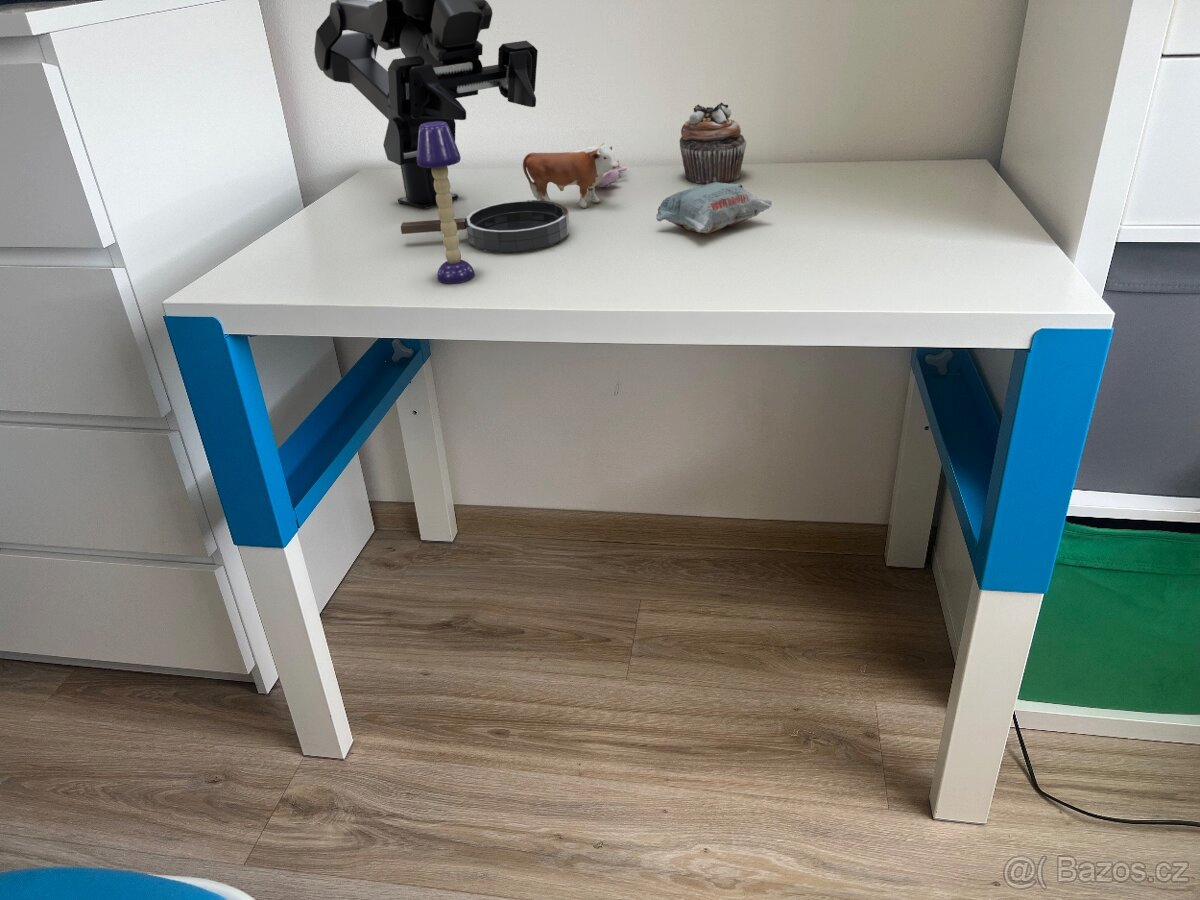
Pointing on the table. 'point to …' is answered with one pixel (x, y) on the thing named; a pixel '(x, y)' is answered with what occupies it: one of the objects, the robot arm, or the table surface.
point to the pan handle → (428, 226)
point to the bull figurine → (569, 170)
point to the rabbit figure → (610, 175)
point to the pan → (517, 226)
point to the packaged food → (711, 207)
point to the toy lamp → (443, 194)
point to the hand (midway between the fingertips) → (500, 109)
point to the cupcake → (712, 146)
